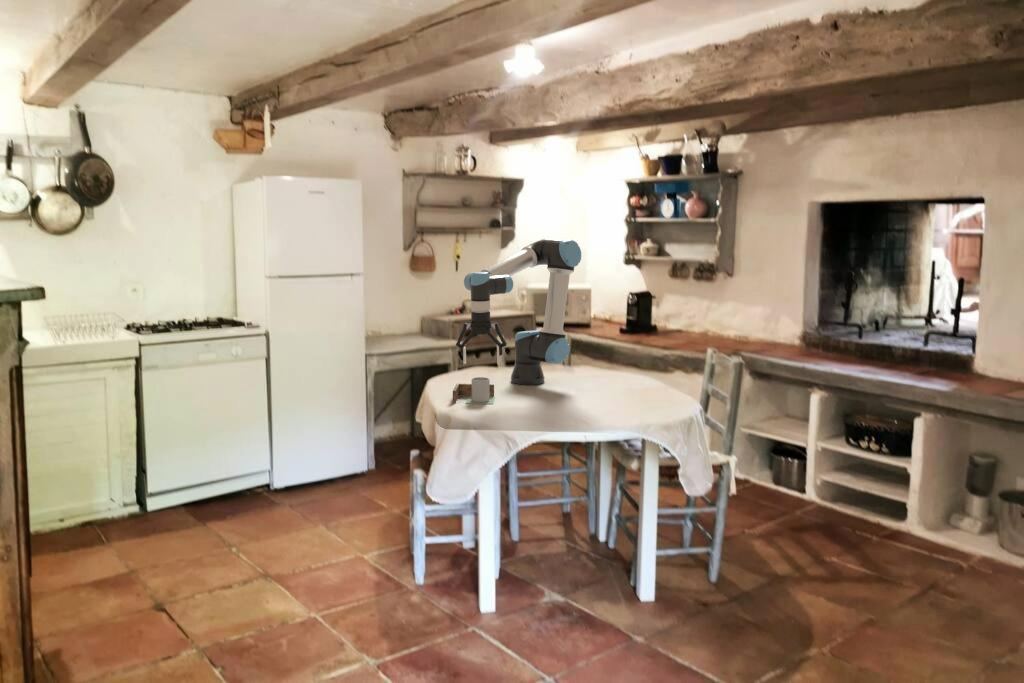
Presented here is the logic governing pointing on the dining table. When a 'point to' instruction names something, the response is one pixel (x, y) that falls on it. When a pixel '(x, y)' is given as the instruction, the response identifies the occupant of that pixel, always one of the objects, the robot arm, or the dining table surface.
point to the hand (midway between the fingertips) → (481, 363)
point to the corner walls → (467, 391)
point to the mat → (469, 401)
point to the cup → (480, 389)
